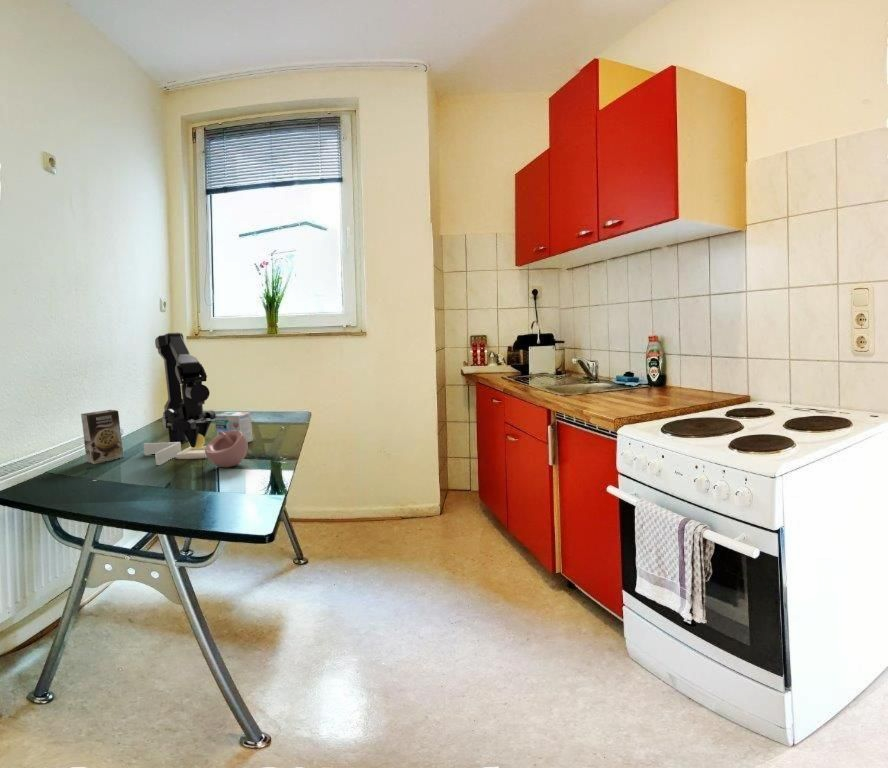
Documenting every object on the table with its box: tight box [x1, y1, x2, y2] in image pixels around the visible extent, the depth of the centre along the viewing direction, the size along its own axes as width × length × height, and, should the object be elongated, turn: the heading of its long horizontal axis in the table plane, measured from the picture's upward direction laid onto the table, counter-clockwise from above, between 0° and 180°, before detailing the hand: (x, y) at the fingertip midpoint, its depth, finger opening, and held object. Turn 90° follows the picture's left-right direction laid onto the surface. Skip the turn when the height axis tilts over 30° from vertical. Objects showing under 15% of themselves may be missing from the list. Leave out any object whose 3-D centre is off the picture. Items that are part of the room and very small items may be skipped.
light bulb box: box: [214, 411, 254, 444], centre depth 189 cm, size 11×7×11 cm, turn 73°
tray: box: [174, 445, 208, 460], centre depth 174 cm, size 10×10×2 cm
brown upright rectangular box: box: [80, 409, 124, 465], centre depth 172 cm, size 9×6×16 cm
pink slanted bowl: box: [205, 430, 249, 468], centre depth 157 cm, size 12×12×12 cm
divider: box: [142, 441, 182, 466], centre depth 169 cm, size 14×12×4 cm
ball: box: [188, 434, 206, 449], centre depth 174 cm, size 5×5×5 cm
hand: (197, 445), depth 174 cm, fingers closed on ball, 5 cm apart
